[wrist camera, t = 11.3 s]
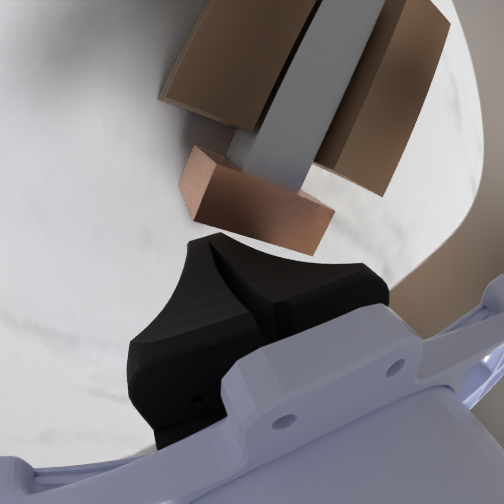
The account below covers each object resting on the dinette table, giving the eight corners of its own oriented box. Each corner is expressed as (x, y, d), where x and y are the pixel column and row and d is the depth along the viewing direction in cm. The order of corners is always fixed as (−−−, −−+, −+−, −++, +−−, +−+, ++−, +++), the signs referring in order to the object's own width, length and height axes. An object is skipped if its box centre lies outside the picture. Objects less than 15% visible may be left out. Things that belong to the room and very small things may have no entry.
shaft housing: (157, 99, 10) (165, 97, 7) (243, -55, 8) (290, -105, 4) (317, 166, 14) (382, 197, 10) (378, 30, 11) (450, 23, 8)
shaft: (178, 185, 11) (193, 221, 8) (282, -30, 8) (331, -63, 5) (270, 216, 13) (312, 256, 10) (359, 21, 10) (420, 11, 7)
